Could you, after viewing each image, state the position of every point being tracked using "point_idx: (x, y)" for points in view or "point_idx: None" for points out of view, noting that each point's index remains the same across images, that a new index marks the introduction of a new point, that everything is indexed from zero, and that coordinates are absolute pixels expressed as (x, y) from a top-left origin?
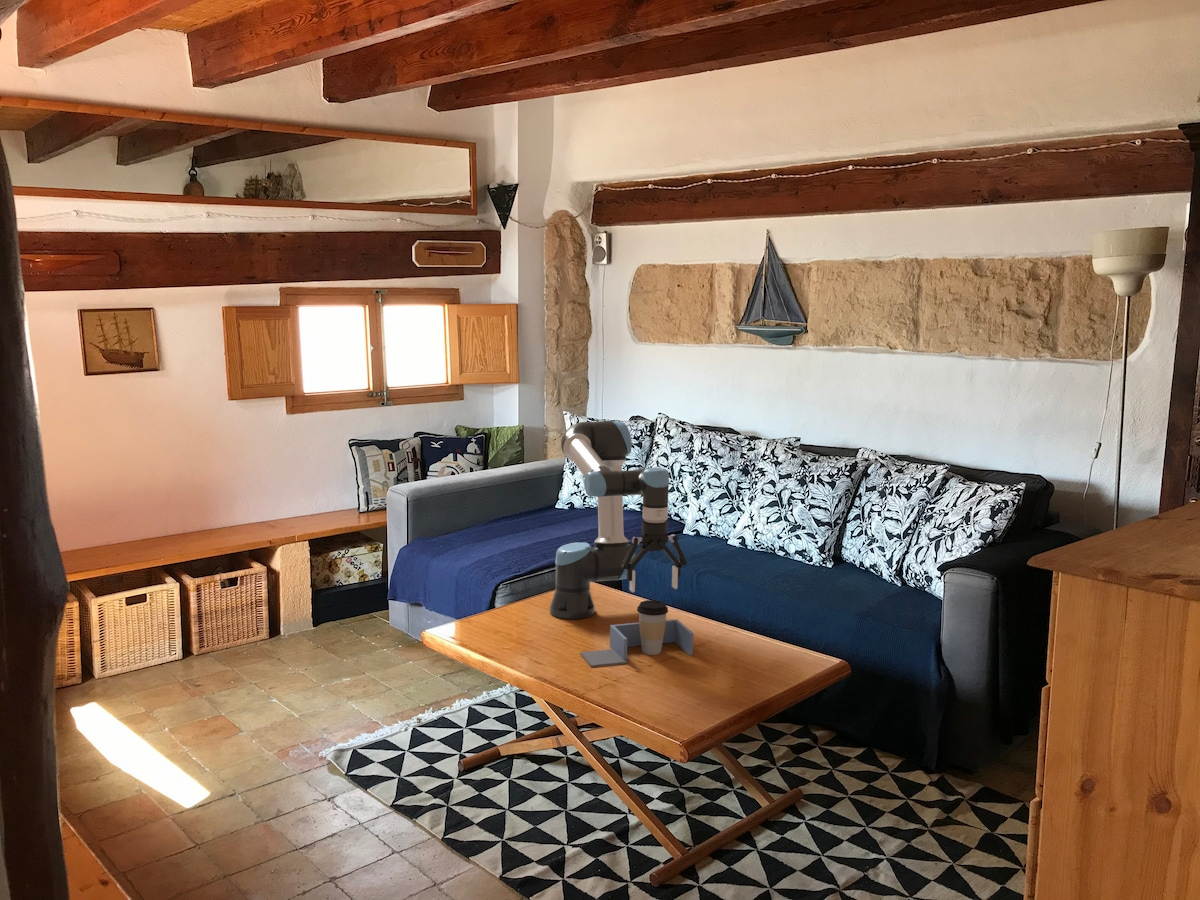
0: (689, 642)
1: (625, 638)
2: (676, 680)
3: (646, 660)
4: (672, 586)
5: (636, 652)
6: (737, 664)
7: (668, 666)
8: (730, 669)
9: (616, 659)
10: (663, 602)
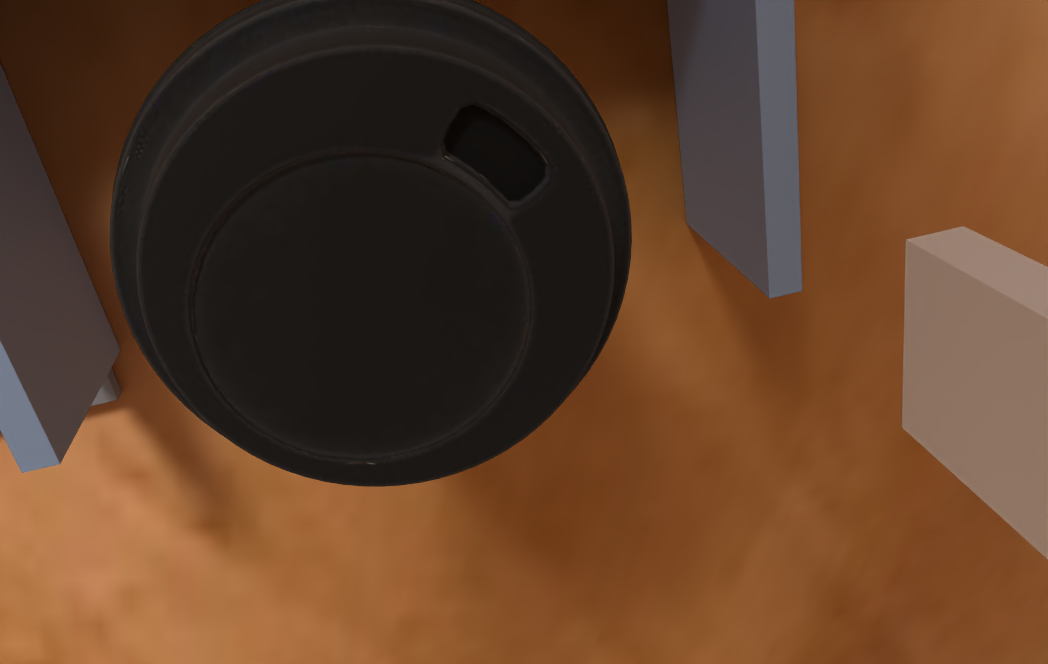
0: (727, 251)
1: (37, 450)
2: (473, 649)
3: None
4: (913, 290)
5: None
6: None
7: None
8: (872, 479)
9: None
10: (597, 208)
